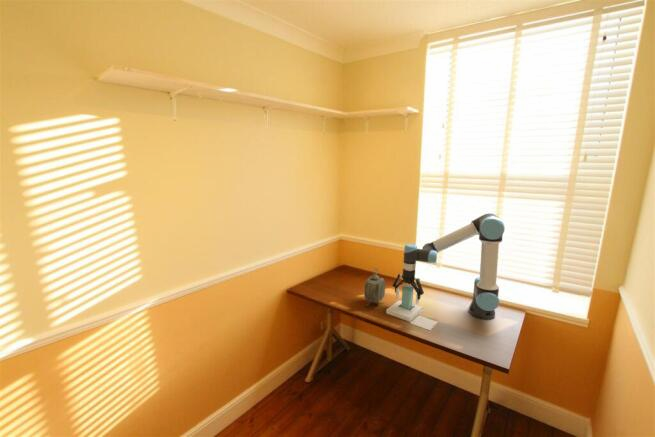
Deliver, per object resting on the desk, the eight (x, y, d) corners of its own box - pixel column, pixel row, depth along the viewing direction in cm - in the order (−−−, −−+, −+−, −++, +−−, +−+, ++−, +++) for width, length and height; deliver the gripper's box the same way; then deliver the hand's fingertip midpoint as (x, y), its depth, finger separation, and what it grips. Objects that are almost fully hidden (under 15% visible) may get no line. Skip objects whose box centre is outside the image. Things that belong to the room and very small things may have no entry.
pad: (437, 322, 187) (437, 321, 187) (429, 330, 178) (429, 330, 178) (418, 316, 195) (418, 315, 195) (410, 323, 186) (410, 323, 186)
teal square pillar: (412, 310, 202) (414, 286, 199) (408, 313, 198) (410, 289, 195) (404, 307, 206) (405, 284, 203) (400, 310, 201) (401, 287, 198)
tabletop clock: (372, 298, 218) (374, 264, 213) (384, 301, 214) (386, 266, 209) (363, 306, 206) (365, 270, 201) (376, 310, 201) (378, 273, 197)
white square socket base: (422, 310, 201) (422, 306, 201) (410, 321, 188) (410, 316, 187) (399, 303, 211) (399, 299, 211) (386, 313, 198) (386, 308, 197)
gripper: (430, 272, 192) (428, 304, 196) (393, 263, 207) (392, 293, 211) (426, 275, 186) (423, 308, 190) (388, 265, 201) (386, 296, 206)
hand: (406, 300), depth 201 cm, fingers open, 13 cm apart
